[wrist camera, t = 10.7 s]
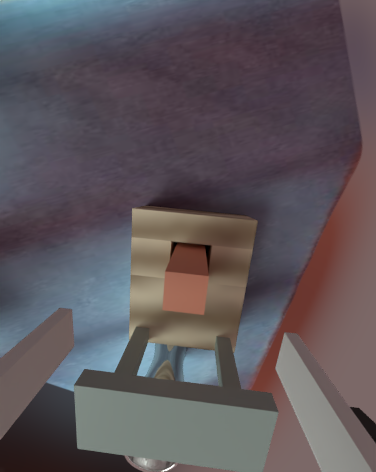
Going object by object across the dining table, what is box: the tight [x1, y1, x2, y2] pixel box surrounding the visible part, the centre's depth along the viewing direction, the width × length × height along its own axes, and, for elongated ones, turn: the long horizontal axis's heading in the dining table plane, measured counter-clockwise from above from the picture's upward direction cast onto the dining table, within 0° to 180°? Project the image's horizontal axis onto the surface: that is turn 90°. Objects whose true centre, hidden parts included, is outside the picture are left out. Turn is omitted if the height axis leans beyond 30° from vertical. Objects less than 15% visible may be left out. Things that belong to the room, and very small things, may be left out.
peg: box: [162, 242, 209, 315], centre depth 24 cm, size 4×4×14 cm
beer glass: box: [124, 343, 187, 472], centre depth 28 cm, size 7×7×15 cm
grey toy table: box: [74, 327, 278, 472], centre depth 21 cm, size 7×16×12 cm, turn 85°
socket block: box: [129, 206, 258, 353], centre depth 29 cm, size 20×16×6 cm
